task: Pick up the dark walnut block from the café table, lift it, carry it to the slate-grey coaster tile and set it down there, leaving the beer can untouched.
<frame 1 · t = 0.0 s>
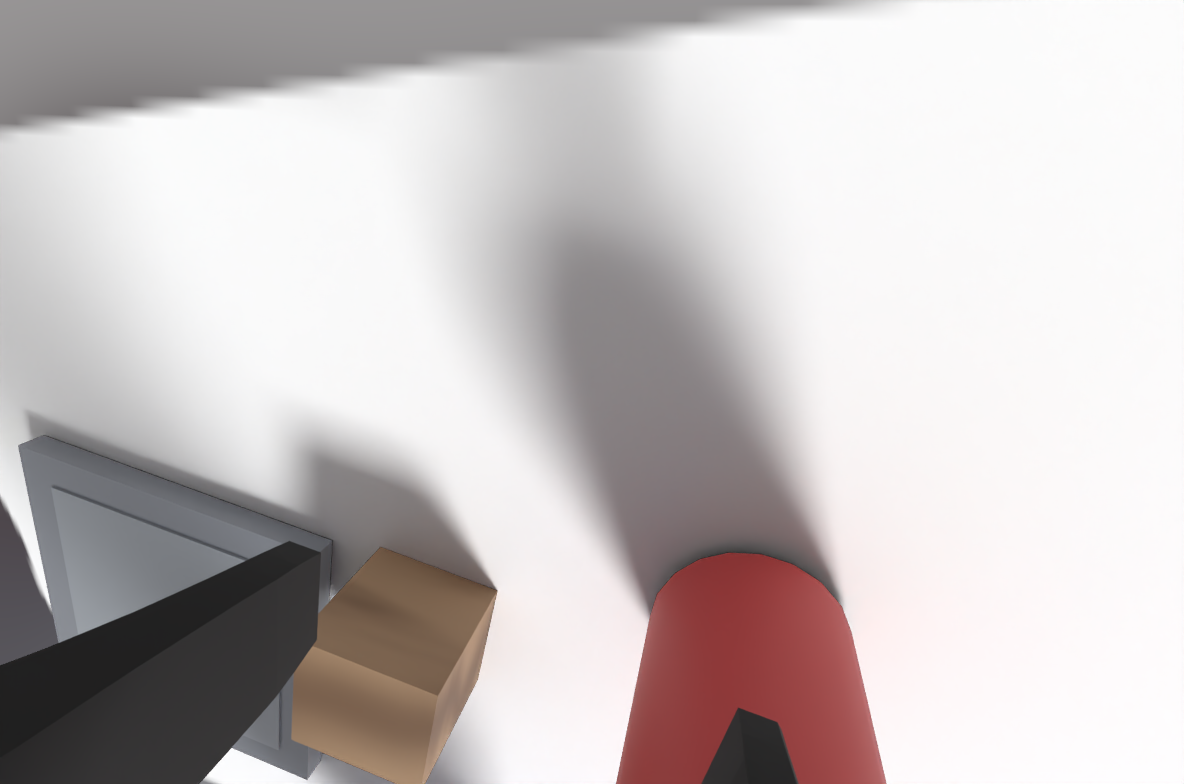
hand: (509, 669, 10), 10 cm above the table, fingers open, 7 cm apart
beer can: (746, 618, 21), on the table
walnut block: (431, 613, 24), on the table
coaster: (192, 609, 27), on the table
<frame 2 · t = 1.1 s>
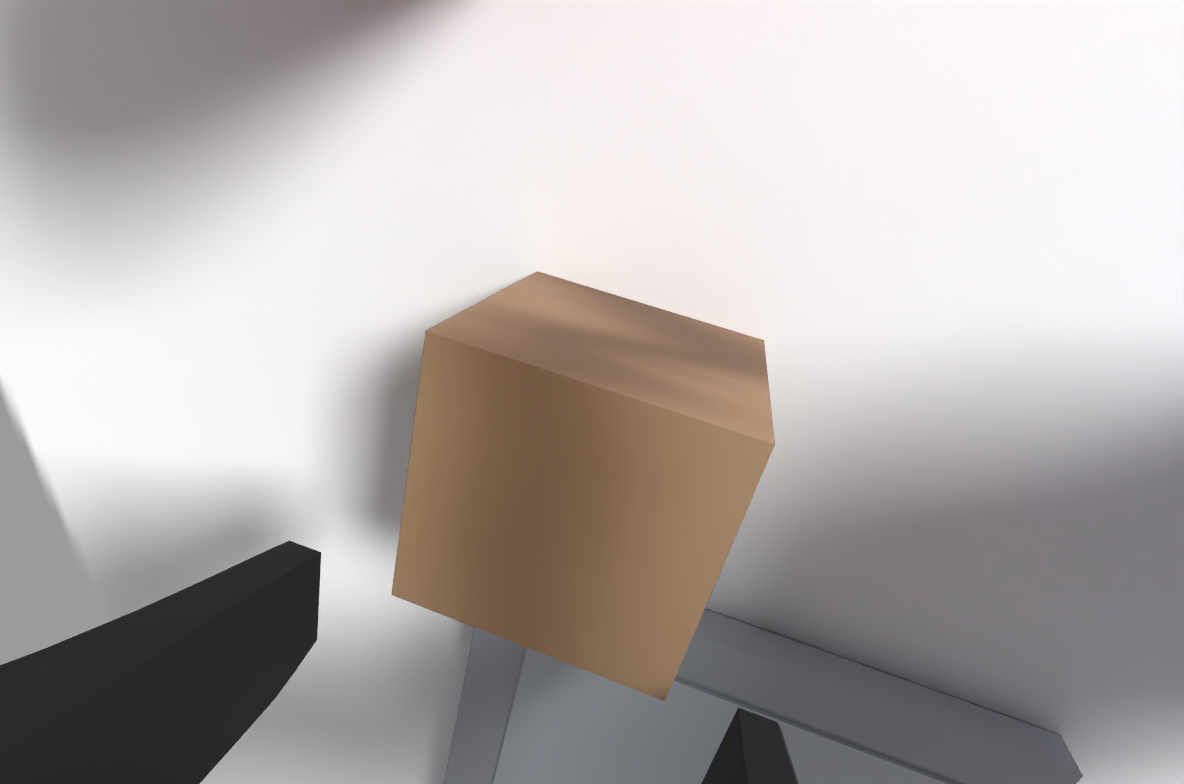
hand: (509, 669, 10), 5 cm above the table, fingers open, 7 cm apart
walnut block: (618, 406, 14), on the table
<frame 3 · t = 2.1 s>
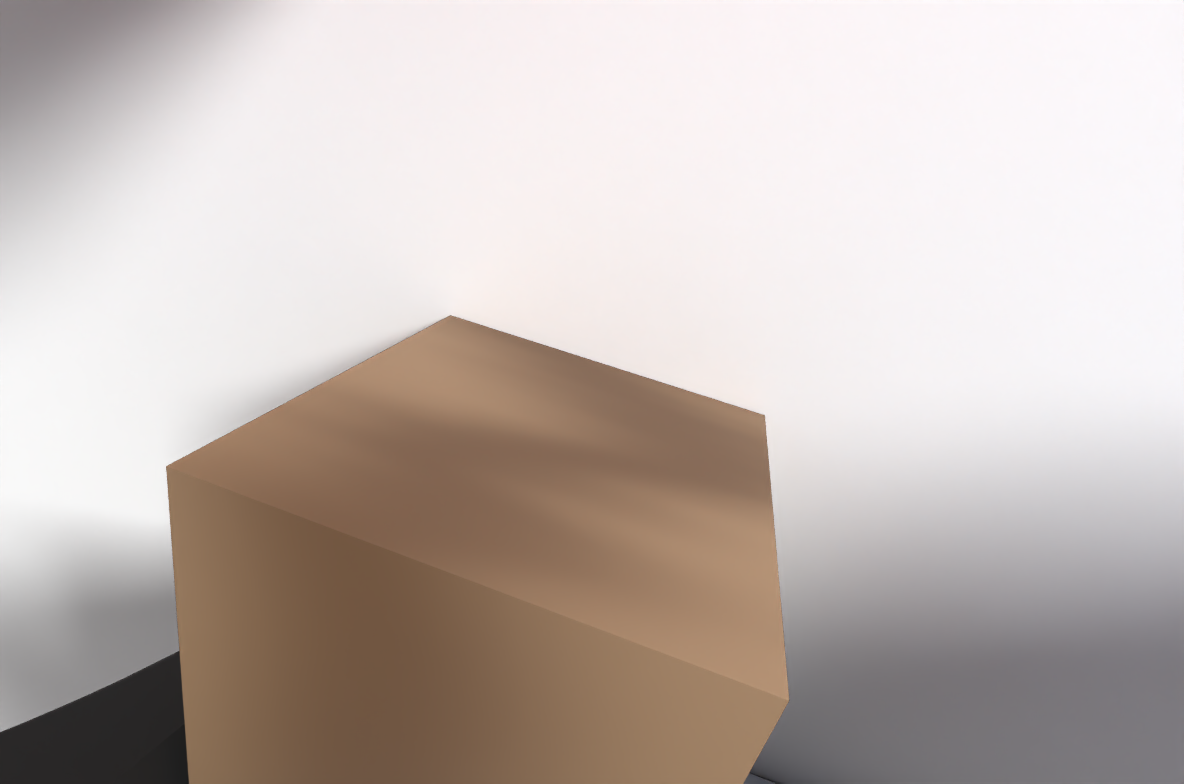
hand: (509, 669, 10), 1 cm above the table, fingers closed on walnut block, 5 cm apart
walnut block: (566, 497, 10), on the table, touching gripper
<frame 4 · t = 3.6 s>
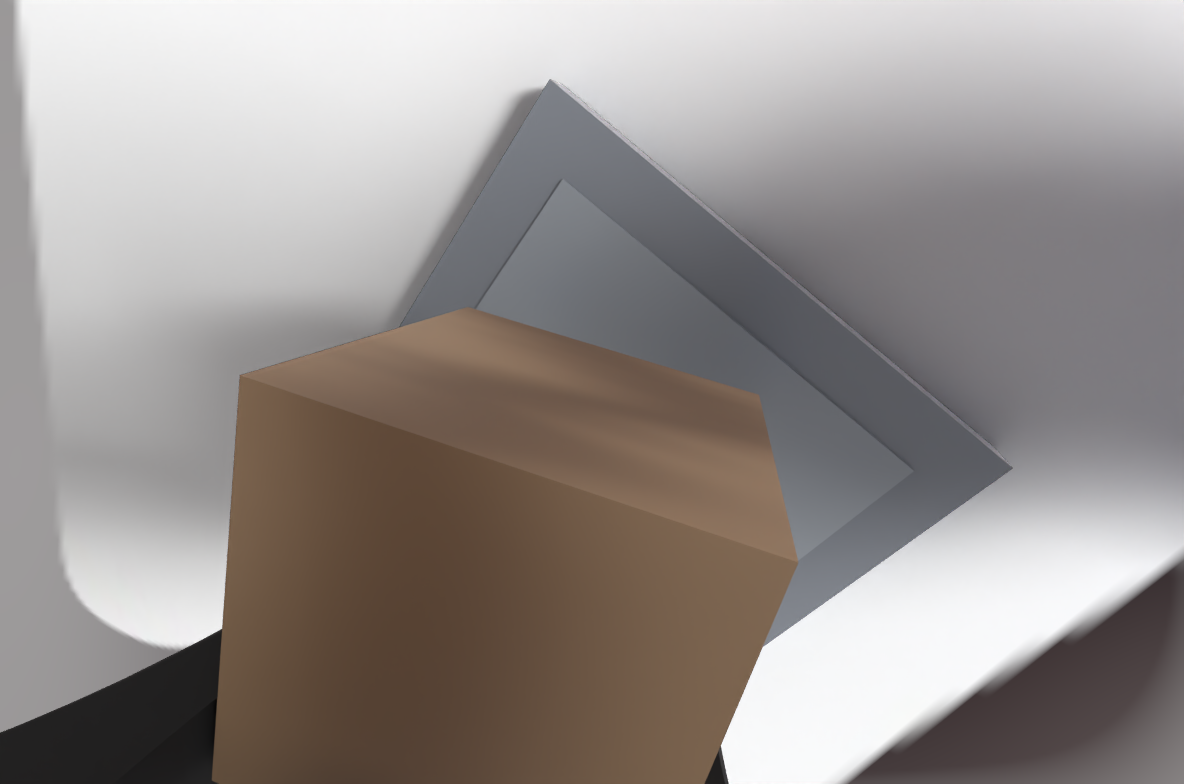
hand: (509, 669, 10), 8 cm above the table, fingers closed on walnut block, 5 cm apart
walnut block: (572, 482, 10), point 6 cm above the table, tilted 6°, touching gripper
coaster: (612, 455, 17), on the table
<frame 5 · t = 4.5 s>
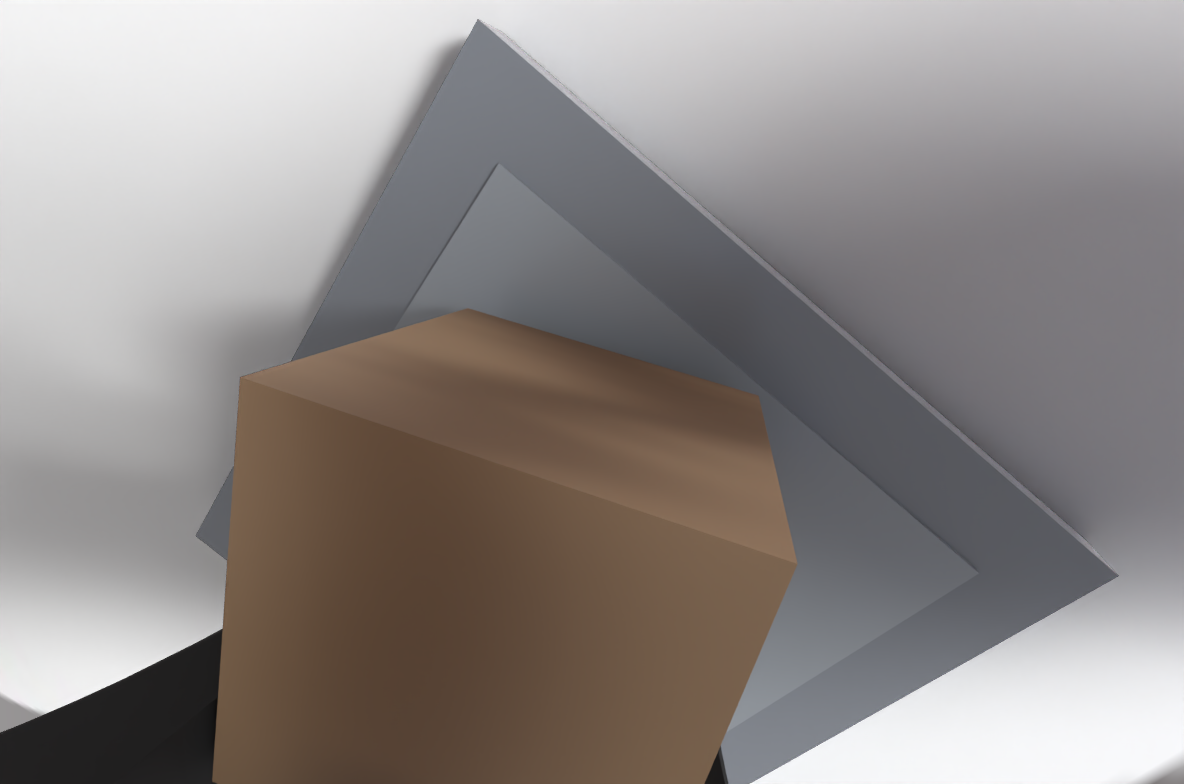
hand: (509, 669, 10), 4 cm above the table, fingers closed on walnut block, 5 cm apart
walnut block: (572, 483, 10), point 2 cm above the table, tilted 6°, touching gripper
coaster: (575, 525, 13), on the table
when the fingers open (4 cm above the table, at t = 5.3 s): walnut block drops 1 cm, resting on coaster.
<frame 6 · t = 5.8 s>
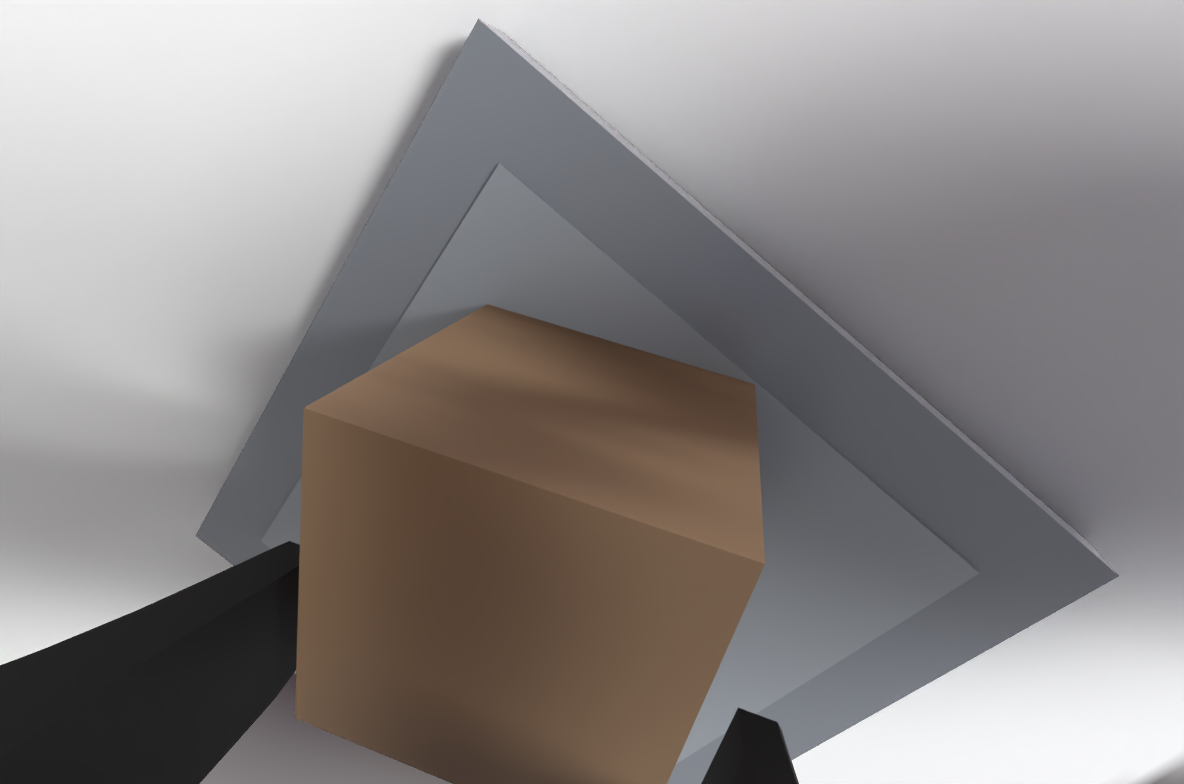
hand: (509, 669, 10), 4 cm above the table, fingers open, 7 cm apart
walnut block: (586, 460, 12), point 1 cm above the table, touching coaster
coaster: (575, 525, 13), on the table
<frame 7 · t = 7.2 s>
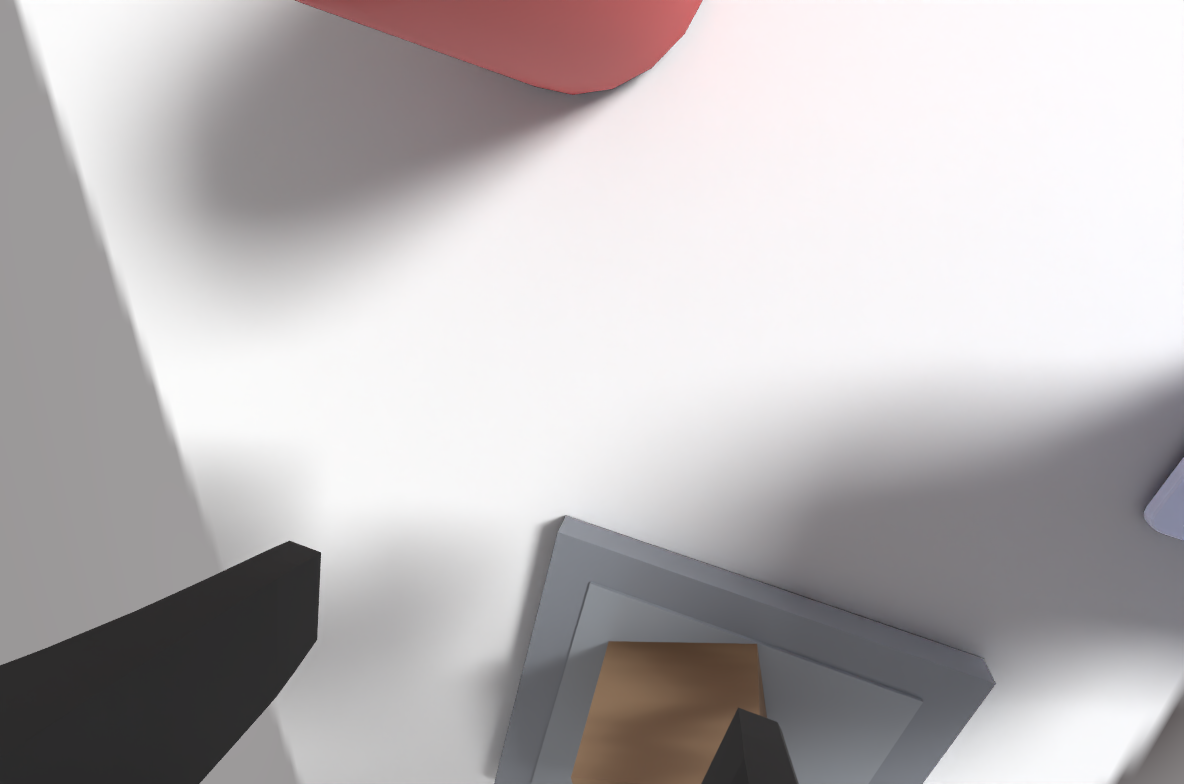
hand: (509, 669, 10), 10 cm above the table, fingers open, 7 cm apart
walnut block: (690, 699, 21), point 1 cm above the table, touching coaster
coaster: (702, 722, 22), on the table
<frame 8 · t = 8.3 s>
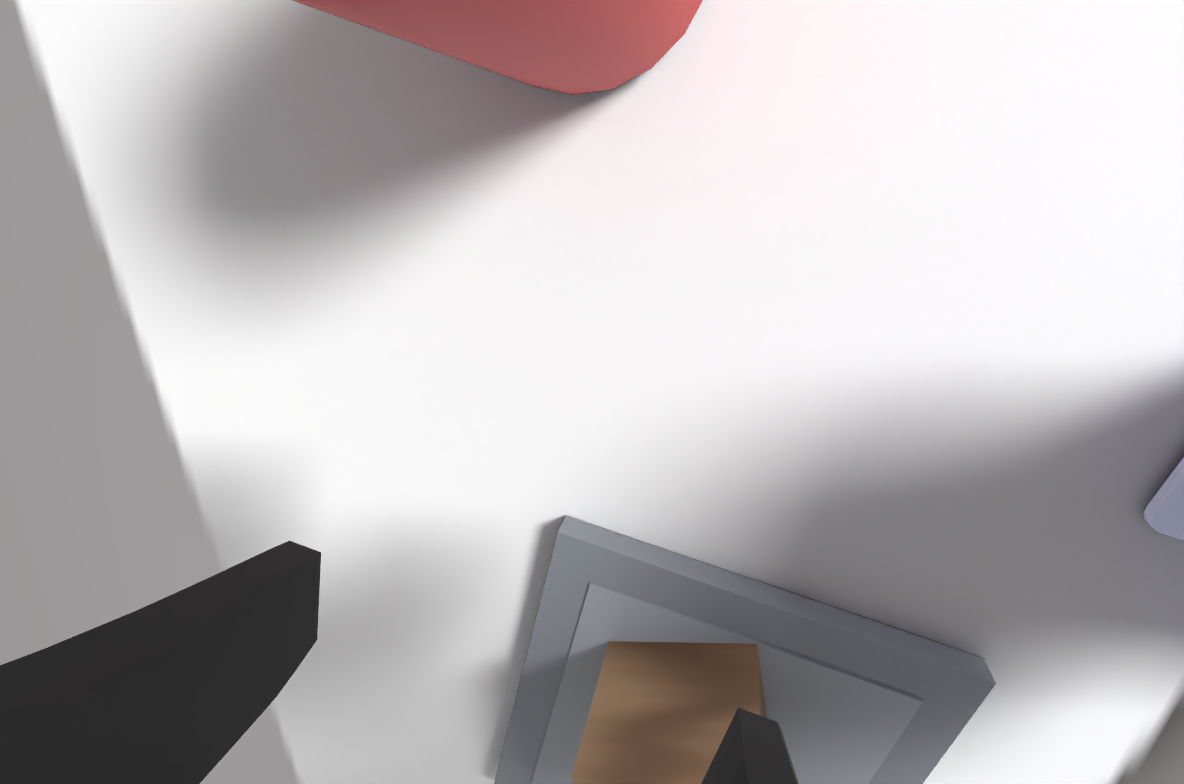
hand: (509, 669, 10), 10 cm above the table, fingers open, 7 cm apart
walnut block: (690, 699, 21), point 1 cm above the table, touching coaster
coaster: (702, 722, 22), on the table
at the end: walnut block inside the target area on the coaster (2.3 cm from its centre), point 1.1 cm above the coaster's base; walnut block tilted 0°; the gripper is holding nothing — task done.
